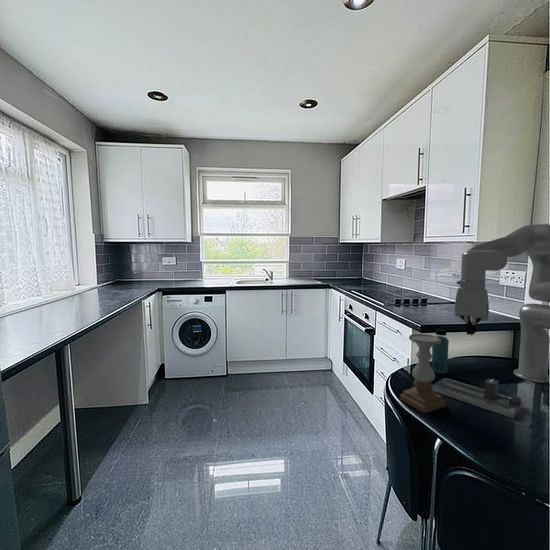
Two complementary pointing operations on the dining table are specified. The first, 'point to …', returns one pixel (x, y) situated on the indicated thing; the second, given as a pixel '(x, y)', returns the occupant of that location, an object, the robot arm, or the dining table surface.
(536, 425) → the dining table surface
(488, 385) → the fader tab
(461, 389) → the console
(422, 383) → the candle holder
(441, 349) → the beverage bottle
